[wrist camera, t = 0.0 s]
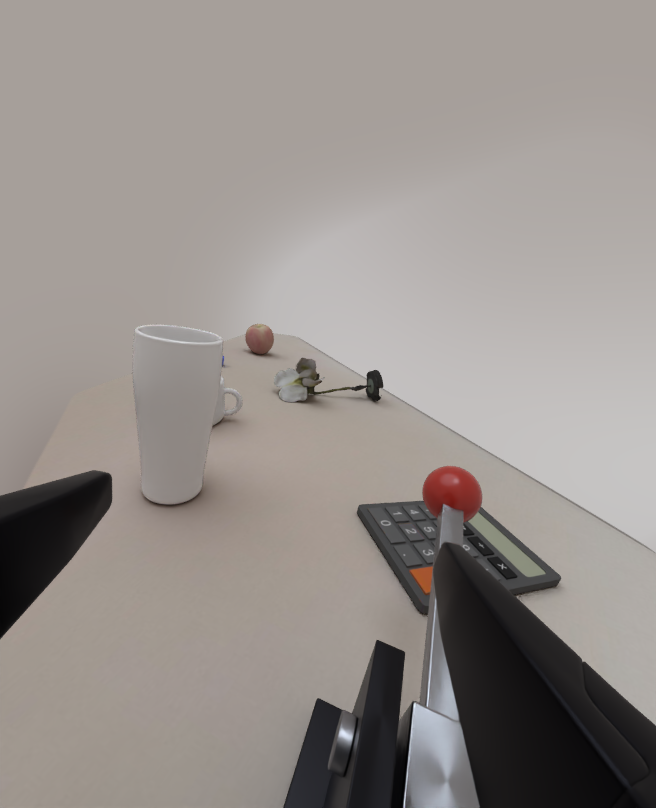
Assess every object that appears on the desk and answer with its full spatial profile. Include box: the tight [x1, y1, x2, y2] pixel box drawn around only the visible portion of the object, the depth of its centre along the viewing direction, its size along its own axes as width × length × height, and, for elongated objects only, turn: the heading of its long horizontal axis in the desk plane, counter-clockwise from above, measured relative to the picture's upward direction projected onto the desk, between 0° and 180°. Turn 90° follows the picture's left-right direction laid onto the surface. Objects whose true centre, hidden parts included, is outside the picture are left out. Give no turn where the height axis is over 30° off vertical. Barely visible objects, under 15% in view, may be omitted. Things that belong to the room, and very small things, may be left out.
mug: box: [213, 376, 242, 425], centre depth 47 cm, size 12×10×6 cm
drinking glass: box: [133, 325, 223, 505], centre depth 30 cm, size 7×7×15 cm
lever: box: [391, 466, 482, 808], centre depth 15 cm, size 15×3×3 cm, turn 162°
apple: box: [246, 324, 274, 354], centre depth 94 cm, size 8×8×8 cm
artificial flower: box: [274, 358, 383, 402], centre depth 67 cm, size 9×22×10 cm, turn 110°
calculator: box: [357, 501, 561, 613], centre depth 32 cm, size 12×1×15 cm
